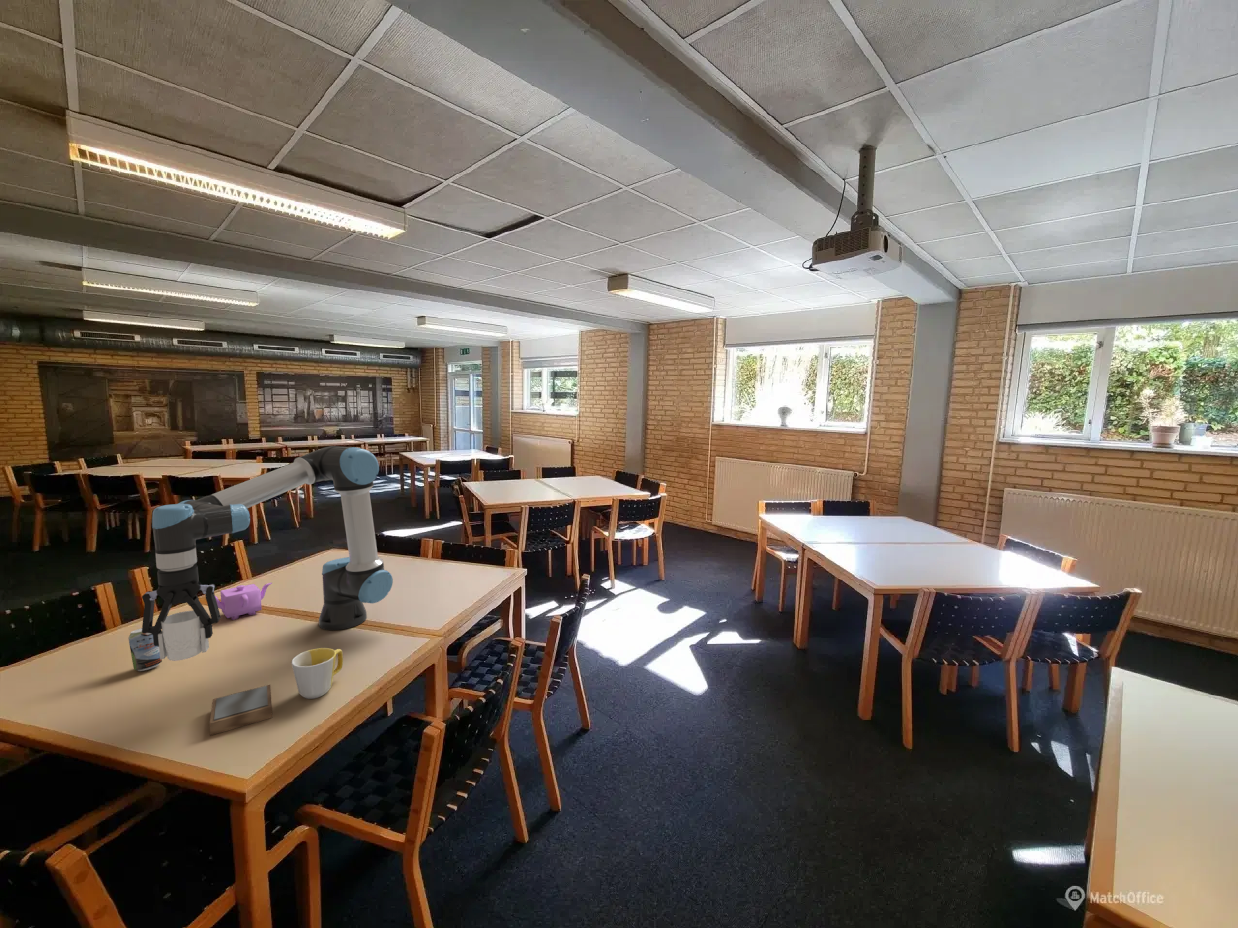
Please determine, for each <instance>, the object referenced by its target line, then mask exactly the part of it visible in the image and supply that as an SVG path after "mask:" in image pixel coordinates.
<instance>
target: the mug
mask: <svg viewBox="0 0 1238 928" xmlns="http://www.w3.org/2000/svg"><path fill="white" fill-rule="evenodd" d="M343 655H344V654H343V650H342V649H340V648H337V649H333V648H330V647H329V648H328V647H320V648H319V647H318V648H314V649H309V650H305V651H303V652H301V653H299V654H297V655H296V656H294V657H293V659H292V660H291V667H292V671H293V675H294V679H295V684H296V686H297V690H298V694H299V695H300V696H301V697H303V698H304V699H307V700H310V699H317V698H320V697H323V696H324V695H326V694H327V693H328V691H330V689H331V688H332V686H333V680H334V676H335V675H337V674H338V673H339V672H340V671H341V670H342V668H343V663H344V657H343ZM336 660H337V665H336ZM335 665H336V666H335Z"/></svg>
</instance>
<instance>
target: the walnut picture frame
mask: <svg viewBox="0 0 1238 928" xmlns="http://www.w3.org/2000/svg"><path fill="white" fill-rule="evenodd" d="M210 709H211V711H210V716H209V718H210V719H209V732H210V733H209V734H210V736H213V735H217V734H220V733H223V732H228V731H231V730H234V729H238V728H241V727H244V726H245V727H246V726H248V725H251V724H255V723H258V722H262V721H265V720H269V719H272V718H273V703H272V687H271V684H267V685H266V684H265V685H263V686H259V687H255V688H254V687H253V688H250V689H247V690H243V691H239V692H236V693H230V694H228V695H224V696H220V697H216V698H213V699H212V703H211V708H210Z"/></svg>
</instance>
